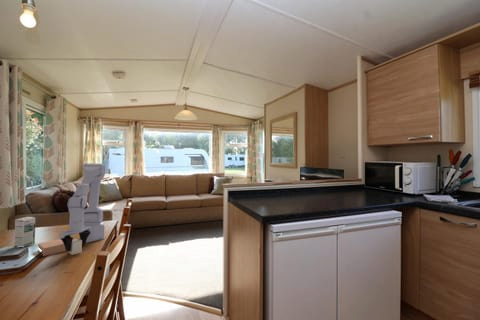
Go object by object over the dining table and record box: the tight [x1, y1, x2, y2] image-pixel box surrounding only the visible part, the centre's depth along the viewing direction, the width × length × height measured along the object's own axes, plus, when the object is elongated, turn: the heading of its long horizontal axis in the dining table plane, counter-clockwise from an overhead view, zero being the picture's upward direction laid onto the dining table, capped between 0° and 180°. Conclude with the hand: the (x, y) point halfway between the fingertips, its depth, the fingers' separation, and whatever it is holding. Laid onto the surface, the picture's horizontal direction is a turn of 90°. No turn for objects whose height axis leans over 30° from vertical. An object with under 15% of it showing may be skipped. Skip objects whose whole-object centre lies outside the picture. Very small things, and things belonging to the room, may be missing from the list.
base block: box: [37, 238, 67, 257], centre depth 112 cm, size 10×10×4 cm
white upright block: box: [68, 238, 83, 256], centre depth 110 cm, size 4×4×6 cm
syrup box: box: [13, 216, 36, 247], centre depth 118 cm, size 6×6×14 cm
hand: (75, 248), depth 110 cm, fingers open, 6 cm apart
